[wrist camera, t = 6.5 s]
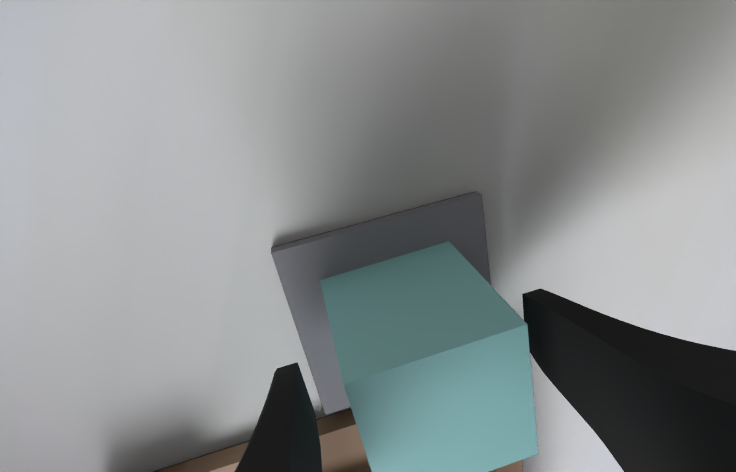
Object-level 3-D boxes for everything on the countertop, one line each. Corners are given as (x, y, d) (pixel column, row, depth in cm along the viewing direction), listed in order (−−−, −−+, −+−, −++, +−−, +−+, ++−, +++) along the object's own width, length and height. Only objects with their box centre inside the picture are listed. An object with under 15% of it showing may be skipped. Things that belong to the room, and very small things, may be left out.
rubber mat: (476, 191, 15) (481, 194, 15) (493, 353, 18) (498, 360, 18) (271, 247, 14) (271, 253, 14) (324, 407, 17) (325, 414, 17)
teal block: (449, 241, 15) (527, 324, 10) (466, 345, 17) (538, 453, 12) (319, 280, 15) (343, 384, 10) (351, 382, 16) (383, 509, 12)
